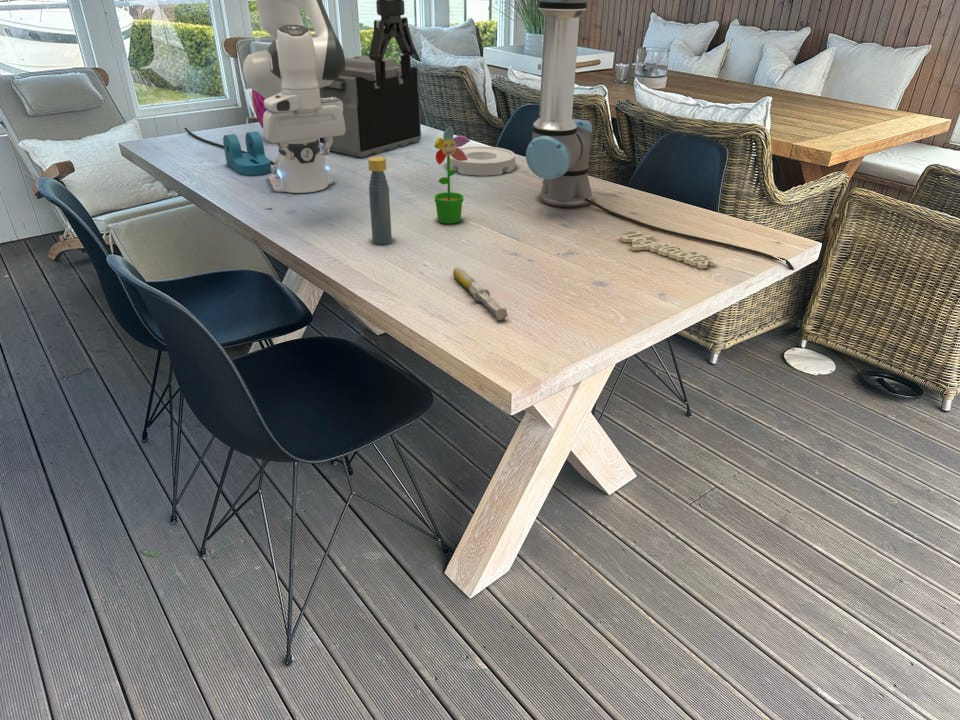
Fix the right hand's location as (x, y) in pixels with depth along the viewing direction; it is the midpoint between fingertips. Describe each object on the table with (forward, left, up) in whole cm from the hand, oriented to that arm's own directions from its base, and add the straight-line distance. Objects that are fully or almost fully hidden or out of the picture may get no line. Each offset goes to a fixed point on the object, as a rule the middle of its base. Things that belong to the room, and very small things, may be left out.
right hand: (394, 83), depth 195 cm
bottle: (-19, +40, -31) cm, 54 cm away
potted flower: (-27, +19, -31) cm, 45 cm away
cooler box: (+38, -43, -31) cm, 65 cm away
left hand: (+3, +38, -13) cm, 40 cm away
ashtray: (-11, -35, -31) cm, 48 cm away
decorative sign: (-84, +16, -31) cm, 91 cm away
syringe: (-55, +59, -31) cm, 86 cm away
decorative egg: (+72, -35, -31) cm, 86 cm away
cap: (-19, +40, -10) cm, 46 cm away
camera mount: (+56, +2, -31) cm, 64 cm away
